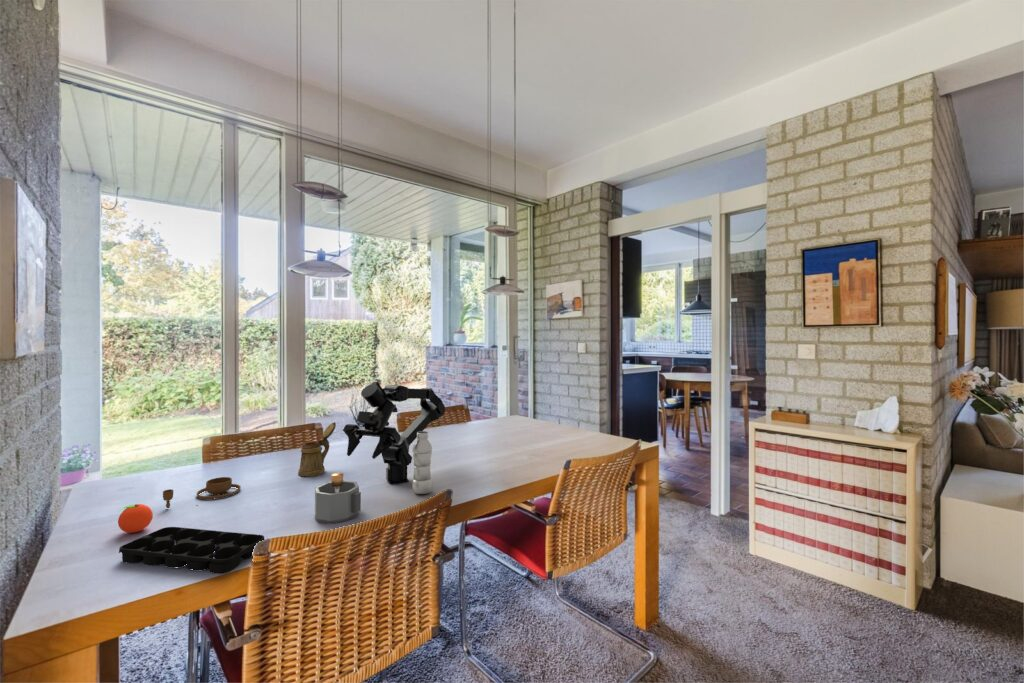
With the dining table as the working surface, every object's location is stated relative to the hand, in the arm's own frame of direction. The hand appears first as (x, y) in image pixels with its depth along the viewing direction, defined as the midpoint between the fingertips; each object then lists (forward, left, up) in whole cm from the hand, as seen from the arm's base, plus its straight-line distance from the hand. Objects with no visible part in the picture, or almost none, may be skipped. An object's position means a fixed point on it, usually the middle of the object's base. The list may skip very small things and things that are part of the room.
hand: (360, 456), depth 138 cm
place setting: (+43, -26, -14) cm, 53 cm away
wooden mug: (+9, -37, -14) cm, 41 cm away
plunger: (+8, +9, -12) cm, 17 cm away
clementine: (+56, -4, -14) cm, 58 cm away
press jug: (+8, +9, -14) cm, 18 cm away
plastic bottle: (-19, +3, -14) cm, 24 cm away
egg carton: (+40, +18, -14) cm, 46 cm away
